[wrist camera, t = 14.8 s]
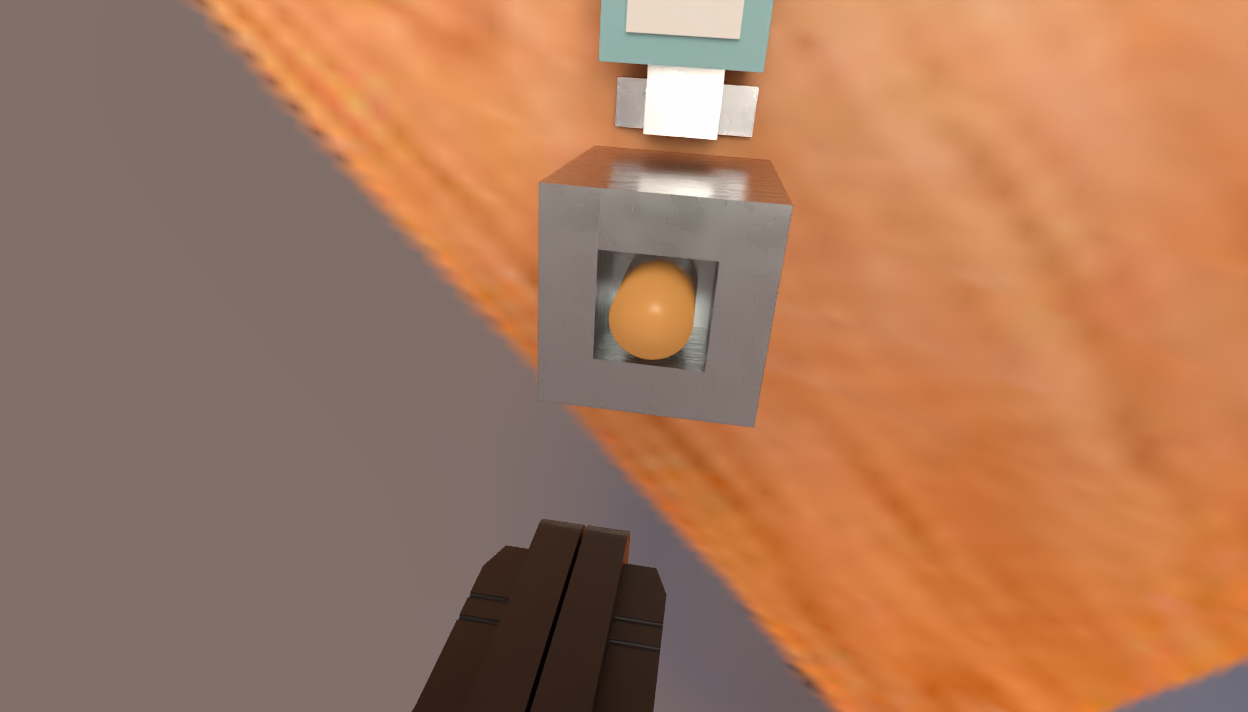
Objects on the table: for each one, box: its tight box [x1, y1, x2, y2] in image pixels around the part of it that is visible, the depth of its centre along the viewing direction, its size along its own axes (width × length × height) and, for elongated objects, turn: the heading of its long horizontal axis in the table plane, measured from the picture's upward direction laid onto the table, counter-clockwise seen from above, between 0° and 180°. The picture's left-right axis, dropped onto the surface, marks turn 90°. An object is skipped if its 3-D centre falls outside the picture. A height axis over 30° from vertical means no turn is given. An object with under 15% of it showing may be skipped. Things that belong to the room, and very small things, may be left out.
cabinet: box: [538, 146, 793, 428], centre depth 26 cm, size 9×8×10 cm
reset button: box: [609, 254, 698, 360], centre depth 23 cm, size 3×3×4 cm
